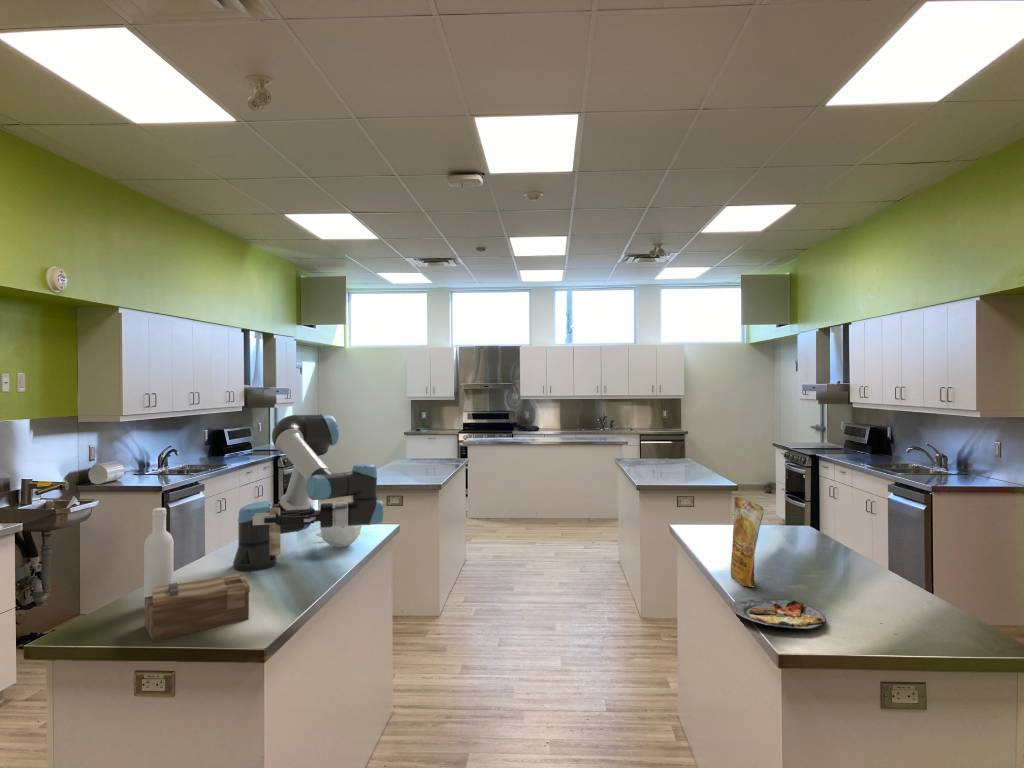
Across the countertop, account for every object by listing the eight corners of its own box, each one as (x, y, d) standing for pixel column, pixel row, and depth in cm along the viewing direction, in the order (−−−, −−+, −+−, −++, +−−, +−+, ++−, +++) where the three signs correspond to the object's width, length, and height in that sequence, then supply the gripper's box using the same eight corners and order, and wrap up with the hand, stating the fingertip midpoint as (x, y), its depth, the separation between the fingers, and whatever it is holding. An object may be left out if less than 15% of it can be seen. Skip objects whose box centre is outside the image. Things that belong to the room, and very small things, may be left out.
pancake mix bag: (743, 572, 215) (742, 495, 216) (766, 590, 196) (765, 505, 197) (724, 572, 215) (724, 495, 216) (745, 590, 196) (745, 505, 197)
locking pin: (267, 554, 183) (267, 508, 183) (278, 552, 185) (277, 507, 186) (271, 556, 181) (271, 510, 181) (282, 553, 183) (281, 508, 183)
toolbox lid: (152, 592, 171) (152, 583, 171) (242, 578, 184) (242, 570, 184) (153, 607, 159) (153, 597, 159) (249, 591, 172) (249, 582, 172)
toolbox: (144, 625, 167) (144, 597, 167) (234, 605, 182) (235, 579, 183) (153, 641, 156) (153, 611, 156) (248, 619, 172) (248, 591, 172)
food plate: (813, 608, 181) (813, 596, 181) (837, 639, 158) (837, 626, 158) (727, 601, 186) (727, 590, 186) (738, 630, 164) (738, 618, 164)
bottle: (174, 607, 181) (175, 509, 182) (144, 612, 177) (145, 512, 177) (171, 599, 188) (172, 505, 188) (142, 605, 183) (143, 508, 184)
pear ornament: (358, 501, 246) (370, 517, 271) (304, 503, 245) (321, 519, 270) (355, 541, 239) (368, 554, 264) (299, 543, 238) (317, 556, 263)
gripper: (332, 532, 180) (249, 537, 174) (334, 521, 196) (257, 525, 189) (332, 507, 180) (249, 512, 174) (334, 498, 196) (257, 502, 190)
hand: (254, 519), depth 182 cm, fingers closed on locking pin, 3 cm apart
